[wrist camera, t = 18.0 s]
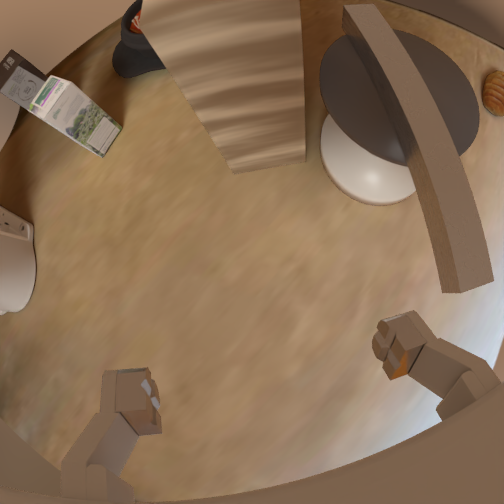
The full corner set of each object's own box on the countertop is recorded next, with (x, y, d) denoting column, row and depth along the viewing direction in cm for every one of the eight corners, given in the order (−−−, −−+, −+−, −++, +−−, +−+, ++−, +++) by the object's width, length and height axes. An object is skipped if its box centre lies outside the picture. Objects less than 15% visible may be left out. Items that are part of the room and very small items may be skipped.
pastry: (503, 129, 34) (514, 118, 30) (472, 99, 35) (481, 87, 31) (517, 99, 33) (527, 89, 30) (488, 73, 35) (496, 61, 31)
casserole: (127, 105, 43) (100, 77, 35) (110, 45, 47) (90, 20, 38) (270, 35, 41) (263, -2, 33) (227, -12, 44) (217, -43, 36)
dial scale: (294, 170, 38) (287, 104, 23) (346, 87, 38) (357, 9, 23) (400, 233, 35) (454, 200, 20) (441, 140, 35) (489, 80, 20)
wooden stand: (305, 161, 38) (298, -12, 12) (234, 174, 39) (138, 26, 13) (282, 66, 40) (255, -88, 14) (221, 78, 41) (156, -65, 16)
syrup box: (102, 117, 44) (49, 72, 30) (124, 128, 43) (69, 79, 29) (83, 147, 44) (24, 108, 30) (104, 159, 43) (42, 119, 28)
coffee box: (79, 102, 45) (24, 57, 30) (58, 131, 46) (-2, 92, 30) (60, 88, 47) (11, 48, 32) (40, 114, 47) (-12, 78, 32)
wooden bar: (473, 282, 19) (494, 280, 16) (442, 292, 20) (460, 293, 17) (369, 24, 23) (373, 3, 20) (341, 26, 23) (343, 5, 20)
